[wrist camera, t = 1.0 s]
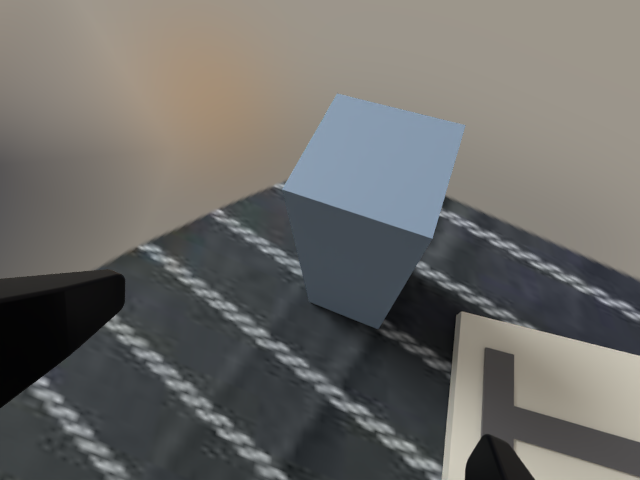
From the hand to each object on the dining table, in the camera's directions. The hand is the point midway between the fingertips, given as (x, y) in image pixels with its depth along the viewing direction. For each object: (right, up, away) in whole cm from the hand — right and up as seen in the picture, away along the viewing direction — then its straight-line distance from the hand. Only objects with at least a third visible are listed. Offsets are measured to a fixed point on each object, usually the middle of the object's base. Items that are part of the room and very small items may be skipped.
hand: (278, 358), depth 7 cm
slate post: (+3, 0, +15) cm, 16 cm away
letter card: (+14, -8, +11) cm, 19 cm away
